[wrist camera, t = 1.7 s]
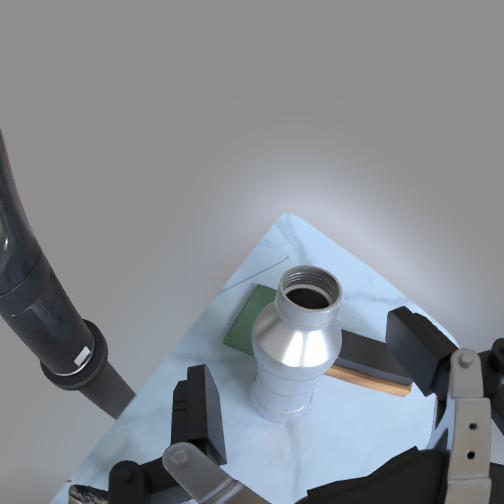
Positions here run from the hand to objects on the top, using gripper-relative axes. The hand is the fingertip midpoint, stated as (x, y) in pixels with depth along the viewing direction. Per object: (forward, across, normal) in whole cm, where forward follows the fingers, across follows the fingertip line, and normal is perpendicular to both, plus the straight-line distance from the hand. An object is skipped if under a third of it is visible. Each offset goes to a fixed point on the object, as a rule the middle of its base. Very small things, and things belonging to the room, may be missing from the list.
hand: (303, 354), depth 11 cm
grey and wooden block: (+14, -10, +20) cm, 26 cm away
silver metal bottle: (+12, +1, +19) cm, 22 cm away
